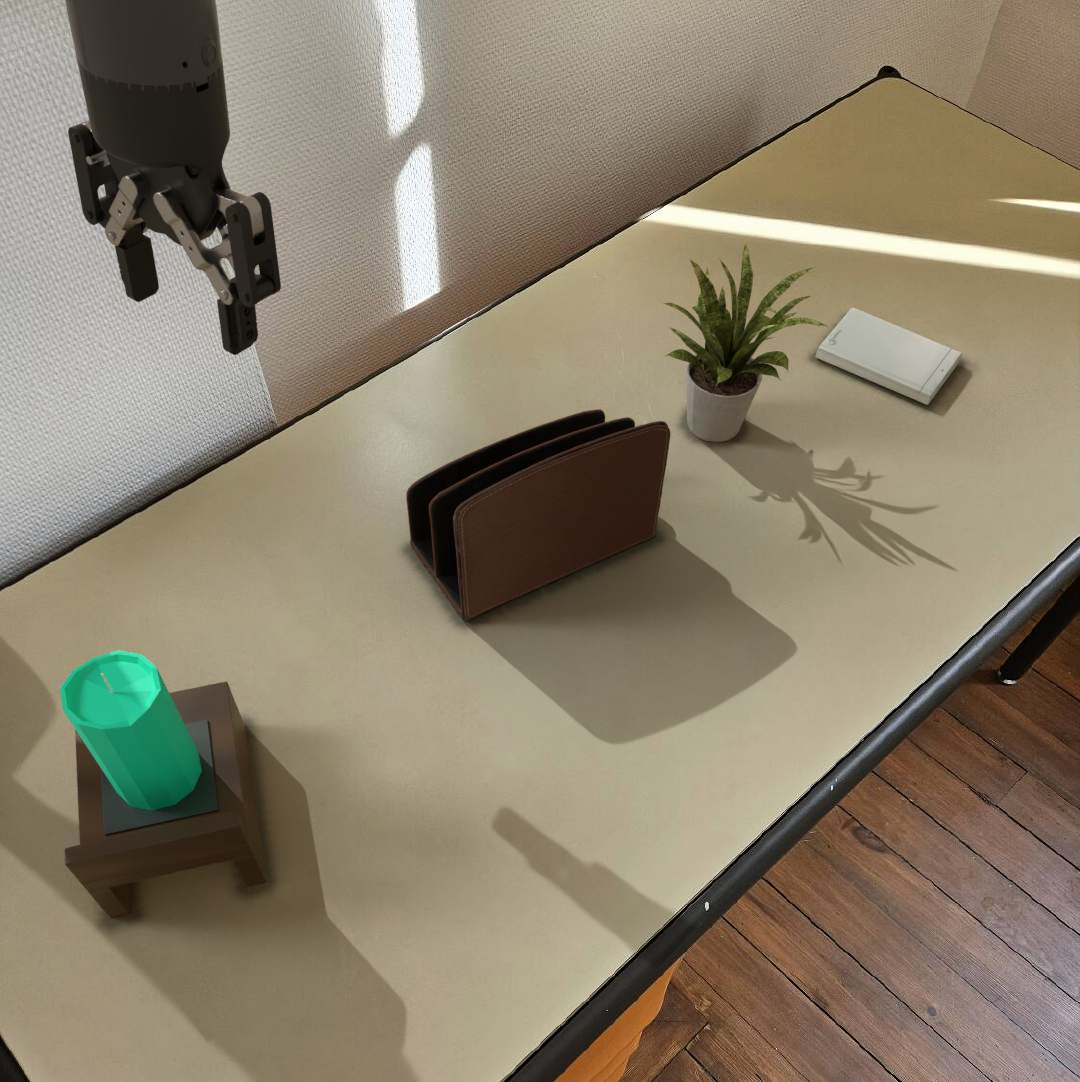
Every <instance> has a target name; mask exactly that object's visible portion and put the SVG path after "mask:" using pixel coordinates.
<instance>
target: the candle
mask: <svg viewBox="0 0 1080 1082" xmlns="http://www.w3.org/2000/svg"><path fill="white" fill-rule="evenodd" d="M59 692H60V700H61V707H62V711H63V713H64V714H65V716H66V717H67V719H68V720H69V722H70V723H71V725H72V726H73V728H74V730H75V729H76V731H77V732H78V734H79V735H80V737H81V738H82V740H83V742H84V743H85V745H86V746H87V748H88V749H89V751H90V752H91V754H92V755H93V757H94V758H95V760H96V761H97V763H98V764H99V766H100V767H101V769H102V771H103V772H104V774H105V775H106V777H107V778H108V780H109V781H110V783H111V784H112V786H113V787H114V789H115V790H116V792H117V793H118V794H119V795H120V796H121V797H122V798H123V799H124V800H125V801H126V802H127V803H128V804H129V805H130V806H132V807H137V808H142V809H147V810H152V811H153V810H156V809H160V808H164V807H168V806H171V805H175V804H177V803H178V802H179V801H180V800H181V799H183V798H184V797H185V796H186V795H188V794H189V793H190V792H191V791H193V790H194V787H195V785H196V783H197V780H198V778H199V776H200V774H201V771H202V770H201V764H200V759H199V753H198V751H197V749H196V747H195V745H194V743H193V741H192V739H191V737H190V735H189V733H188V730H187V728H186V726H185V724H184V722H183V720H182V718H181V716H180V714H179V712H178V710H177V708H176V706H175V704H174V702H173V700H172V698H171V696H170V694H169V693H170V692H169V690H168V688H167V686H166V684H165V682H164V679H163V678H162V675H161V673H160V671H159V669H158V667H157V666H156V665H155V664H154V663H153V662H151V660H149V659H148V658H147V657H146V656H144V655H143V654H142V653H137V652H131V651H126V650H120V649H118V650H114V651H111V652H106V653H105V654H101V655H98V656H94V657H91V659H89V660H87V661H85V662H84V663H83V664H81V665H79V666H77V667H76V668H75V669H72V670H71V672H70V673H69V675H68V676H67V678H66V679H65V680H64V682H63V683H62V684H61V686H60V687H59Z"/></svg>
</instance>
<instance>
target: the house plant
mask: <svg viewBox="0 0 1080 1082" xmlns="http://www.w3.org/2000/svg"><path fill="white" fill-rule="evenodd" d="M741 259H742V260H741V272H740V282H739V288H738V290H737V285H736V282H735V279H734V278H733V276H732V274H731V271H729V268H728V267H727V265H726V264H725V263H724V262H723V261H722V260H721V258H720V257H719V262H720V263H721V266H722V268H723V270H724V273H725V275H726V278H727V280H728V283H729V286H730V295H731V296H730V297H731V298H730V299H731V313H730V311H729V310H728V308H727V301H726V292H725V289H724V286H722V287H721V290H720V292H719V296H718V295H717V292H716V289H715V286H714V284H713V283H712V281H711V280H710V272H709V268H708V267H706V271H705V272H704V271H703V269H702V267H701V266H700V265H699V264H698V263H696V262H695V261H694V260H692V259H691V258H689V260H690V263H691V265H692V268H693V271H694V273H695V276H696V279H697V282H698V285H699V289H700V290H699V294H698V297H697V305H693V306H691V307H692V310H693V311H694V312H695V313H696V314H697V316H698V320H699V321H698V320H697V318H696V317H695V316H694V315H693V314H692V313H691V312H690V311H688V310H687V309H686V308H684V307H682V306H680V305H678V304H676V303H673V302H663V304H664V305H666V306H669V307H671V308H674V309H676V310H677V311H679V312H681V313H682V314H683V315H685V316H686V317H687V318H689V319H690V321H692V322H693V324H694V325H695V326H696V327H697V328H698V329H699V330H700V332H701V333H702V336H703V339H704V347H703V346H702V345H701V344H699V343H698V342H697V341H695V340H694V339H693V338H691V337H690V336H689V335H687V334H686V333H684V332H682V331H681V330H678V329H675V328H673V327H670V326H669V327H667V328H669V329H670V330H671V331H672V333H674V334H675V335H676V336H678V337H679V338H680V339H681V341H682V342H683V343H684V344H685V346H686V347H687V348H689V350H691V351H692V352H694V353H695V354H693V353H692V352H690V351H689V350H686V349H683V348H681V349H679V348H678V349H675V350H673V351H671V352H669V353H667V354H665V357H667V356H668V357H670V358H674V359H675V360H679V361H682V362H686V363H687V364H686V366H685V367H686V370H685V374H686V375H685V376H686V377H685V378H686V379H685V380H686V417H687V418H686V420H687V422H686V423H687V427H688V429H689V431H690V432H691V433H692V434H693V435H694V436H695V437H697V438H698V439H701V440H702V441H707V442H715V443H716V442H717V443H719V442H726V441H731V440H732V439H733V438H735V437H736V436H737V434H739V432H740V430H741V426H742V425H743V423H744V421H745V419H746V416H747V414H748V412H749V410H750V407H751V405H752V403H753V401H754V398H755V397H756V394H757V391H758V390H759V387H760V385H761V382H762V380H763V376H771V377H774V378H777V379H778V380H780V382H781V381H782V380H781V378H780V375H779V373H778V369H777V368H776V367H774V366H778V367H783V368H784V369H785V370H787V371H786V372H789V357H788V356H787V354H786V353H785V352H784V351H780V350H773V351H767V352H764V353H762V354H760V355H758V356H757V357H755V358H753V356H754V355H755V353H756V351H757V350H758V348H759V347H760V345H761V344H762V343H763V342H764V341H766V340H771V339H774V338H775V336H773V337H770V336H771V335H773V334H775V333H776V332H778V331H781V330H783V329H784V328H789V327H793V326H798V325H813V326H817V327H827V328H829V326H828V325H827V324H824V323H823V322H821V321H818V320H816V319H812V318H809V317H794V316H795V315H796V314H797V312H792V313H788V312H790V311H791V310H792V309H793V308H794V307H796V306H797V305H798V304H799V303H801V302H803V301H805V300H808V299H809V298H810V297H811V295H807V296H806V295H805V296H801V297H798V298H797V297H796V298H794V299H793V300H791V301H789V302H787V303H786V304H785V305H784V306H782V308H780V309H779V310H778V311H776V310H775V308H774V307H772V306H773V304H774V303H775V302H777V300H778V299H779V298H780V297H781V296H782V295H783V294H784V293H785V292H786V291H787V290H789V288H791V287H792V285H793V284H795V282H796V281H797V280H798V279H800V278H801V277H803V276H804V275H806V274H809V272H811V271H812V270H813V269H814V267H810V268H805V269H802V270H799V271H797V272H794V273H792V274H790V275H788V276H786V277H785V278H783V279H782V280H781V281H780V282H778V283H777V284H776V285H775V286H774V287H773V288H772V289H770V290H769V292H767V294H766V295H765V296H764V297H763V298H762V299H761V300H760V302H759V303H758V304H759V305H758V306H757V308H756V310H755V311H754V313H753V315H752V316H751V318H750V319H749V321H748V323H747V317H748V316H747V315H748V310H749V307H750V302H751V296H752V290H753V281H754V270H753V266H752V262H751V256H750V250H749V248H748V246H747V243H744V246H743V250H742V257H741ZM767 311H769V312H771V313H774V315H773V316H772V317H770V316H768V315H765V314H766V313H767ZM792 317H793V318H792ZM755 337H756V338H755ZM754 338H755V339H754ZM753 339H754V341H752V340H753Z"/></svg>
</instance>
